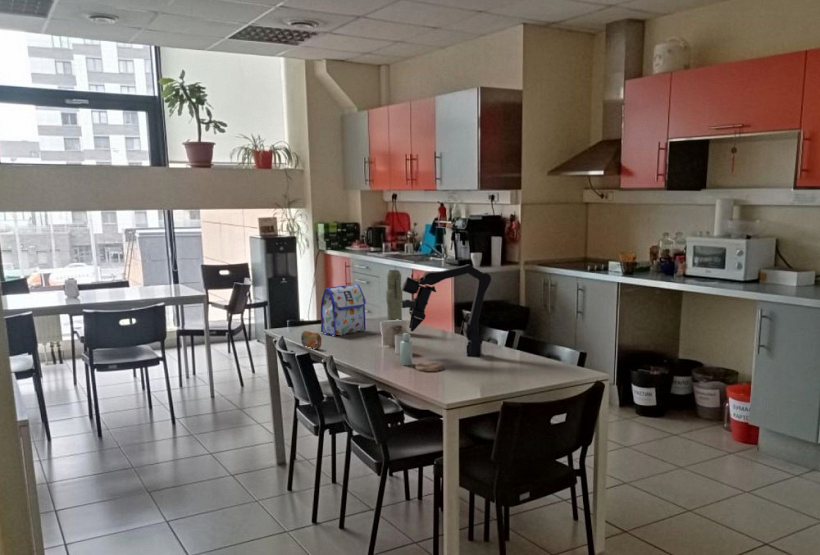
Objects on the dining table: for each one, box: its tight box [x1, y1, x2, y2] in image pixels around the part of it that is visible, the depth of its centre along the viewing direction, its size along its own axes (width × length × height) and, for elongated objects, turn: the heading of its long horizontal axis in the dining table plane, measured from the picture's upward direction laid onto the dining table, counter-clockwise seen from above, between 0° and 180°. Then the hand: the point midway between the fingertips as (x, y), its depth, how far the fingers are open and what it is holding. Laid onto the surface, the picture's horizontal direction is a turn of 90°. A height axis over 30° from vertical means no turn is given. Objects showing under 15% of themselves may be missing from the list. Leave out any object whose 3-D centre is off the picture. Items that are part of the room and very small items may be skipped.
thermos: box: [385, 269, 403, 321], centre depth 359 cm, size 9×12×35 cm
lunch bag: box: [320, 283, 367, 337], centre depth 362 cm, size 23×17×27 cm
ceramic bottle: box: [399, 332, 413, 366], centre depth 288 cm, size 5×5×14 cm
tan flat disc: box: [415, 362, 444, 372], centre depth 281 cm, size 12×12×1 cm
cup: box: [394, 333, 411, 356], centre depth 311 cm, size 7×10×9 cm
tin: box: [300, 330, 322, 350], centre depth 325 cm, size 15×3×8 cm, turn 42°
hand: (410, 329), depth 300 cm, fingers open, 9 cm apart
